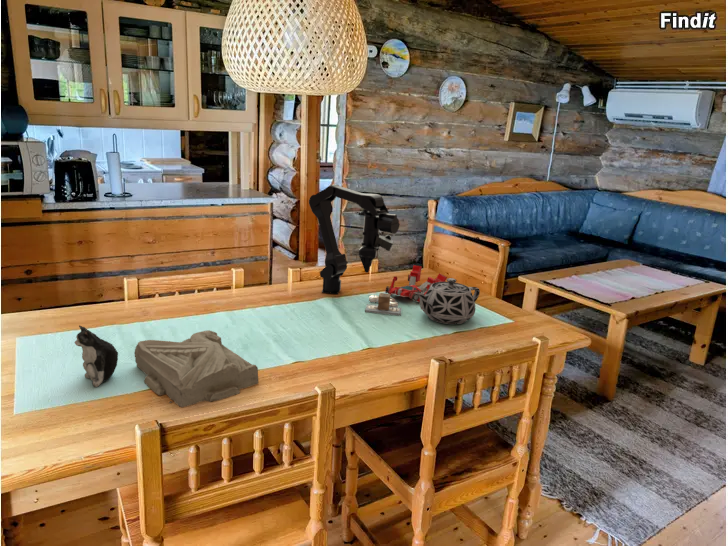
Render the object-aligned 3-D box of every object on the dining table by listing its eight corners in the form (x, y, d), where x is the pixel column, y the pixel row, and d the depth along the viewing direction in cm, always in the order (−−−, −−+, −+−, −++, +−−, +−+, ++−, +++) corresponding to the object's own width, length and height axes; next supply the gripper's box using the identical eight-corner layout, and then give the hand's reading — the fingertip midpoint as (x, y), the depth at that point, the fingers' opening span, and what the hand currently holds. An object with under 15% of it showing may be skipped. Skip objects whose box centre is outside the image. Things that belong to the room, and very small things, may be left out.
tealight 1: (368, 302, 214) (368, 296, 213) (369, 299, 218) (369, 293, 217) (378, 303, 214) (379, 297, 213) (379, 300, 218) (380, 294, 217)
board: (365, 311, 203) (365, 309, 203) (366, 306, 209) (367, 303, 209) (400, 315, 202) (400, 312, 202) (401, 309, 208) (401, 307, 208)
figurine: (70, 377, 143) (65, 322, 138) (109, 367, 149) (106, 314, 145) (83, 391, 136) (79, 334, 132) (124, 380, 143) (121, 325, 139)
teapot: (395, 316, 202) (398, 276, 197) (458, 305, 218) (463, 268, 214) (428, 334, 186) (433, 292, 182) (494, 321, 203) (499, 282, 199)
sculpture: (175, 415, 130) (174, 382, 127) (125, 365, 151) (124, 336, 149) (269, 385, 146) (270, 355, 144) (212, 344, 168) (211, 318, 166)
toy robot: (452, 271, 234) (418, 282, 209) (449, 293, 236) (415, 307, 211) (415, 263, 243) (378, 272, 219) (412, 284, 245) (376, 296, 221)
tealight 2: (383, 304, 213) (384, 298, 212) (385, 301, 217) (386, 295, 216) (393, 306, 212) (394, 299, 211) (395, 303, 216) (396, 296, 215)
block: (377, 309, 204) (378, 296, 202) (378, 305, 208) (379, 292, 206) (388, 310, 203) (389, 297, 202) (389, 306, 207) (390, 294, 206)
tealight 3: (386, 308, 209) (387, 302, 208) (387, 305, 213) (388, 298, 212) (397, 309, 209) (398, 303, 208) (398, 306, 212) (398, 299, 212)
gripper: (391, 236, 197) (387, 278, 201) (394, 226, 215) (391, 265, 219) (359, 233, 198) (356, 275, 202) (366, 223, 216) (363, 262, 220)
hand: (368, 269), depth 211 cm, fingers open, 9 cm apart
